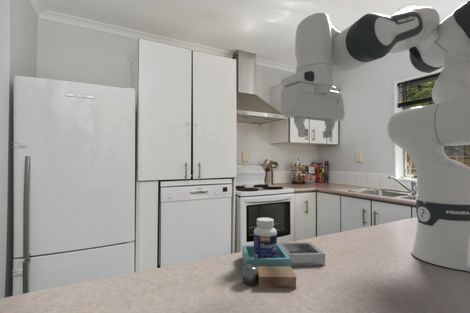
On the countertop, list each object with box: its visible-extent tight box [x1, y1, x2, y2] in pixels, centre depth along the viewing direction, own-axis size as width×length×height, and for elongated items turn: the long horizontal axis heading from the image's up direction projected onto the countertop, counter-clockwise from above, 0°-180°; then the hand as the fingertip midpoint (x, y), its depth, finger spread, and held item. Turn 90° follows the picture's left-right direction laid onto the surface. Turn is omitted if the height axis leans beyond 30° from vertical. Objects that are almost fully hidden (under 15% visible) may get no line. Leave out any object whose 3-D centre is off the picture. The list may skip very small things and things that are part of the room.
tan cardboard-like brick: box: [257, 266, 297, 290], centre depth 51 cm, size 7×5×2 cm
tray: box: [241, 244, 292, 268], centre depth 59 cm, size 10×10×3 cm
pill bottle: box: [253, 217, 278, 258], centre depth 60 cm, size 5×5×10 cm
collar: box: [277, 241, 326, 267], centre depth 64 cm, size 9×9×2 cm
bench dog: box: [242, 264, 258, 287], centre depth 51 cm, size 3×3×3 cm
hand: (315, 137), depth 63 cm, fingers open, 8 cm apart
